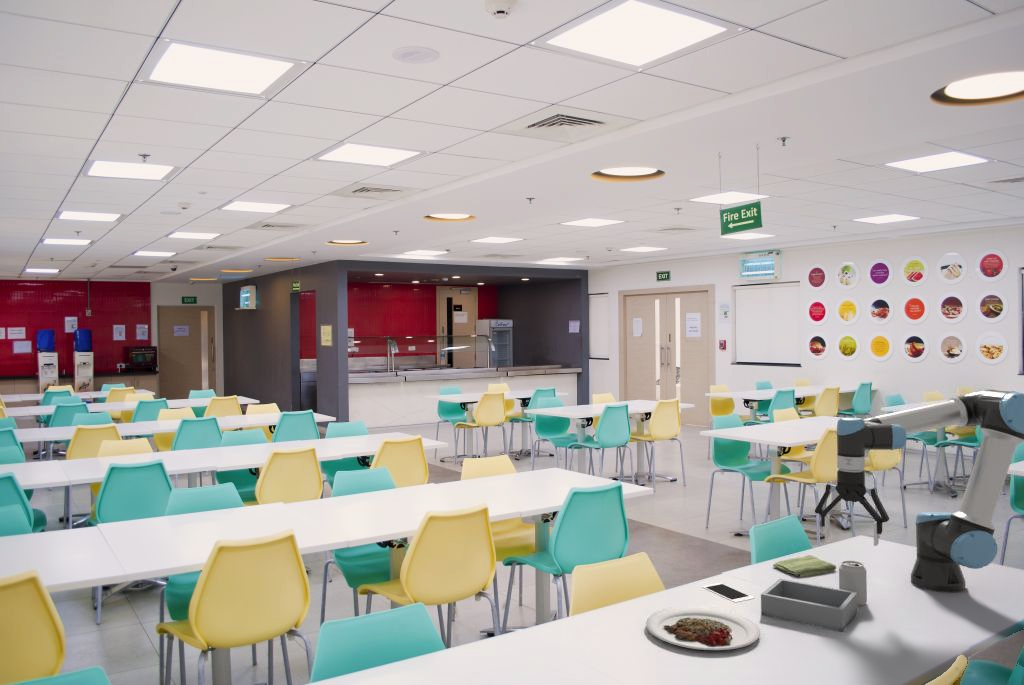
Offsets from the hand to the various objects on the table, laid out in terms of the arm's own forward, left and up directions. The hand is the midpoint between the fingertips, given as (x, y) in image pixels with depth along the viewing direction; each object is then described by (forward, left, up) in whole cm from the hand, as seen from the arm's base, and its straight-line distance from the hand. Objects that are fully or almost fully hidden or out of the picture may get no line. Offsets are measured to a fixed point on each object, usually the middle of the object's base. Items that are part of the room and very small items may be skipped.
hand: (851, 541), depth 223 cm
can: (0, 0, -19) cm, 19 cm away
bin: (+8, +16, -19) cm, 26 cm away
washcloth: (+21, -25, -19) cm, 38 cm away
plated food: (+28, +46, -19) cm, 57 cm away
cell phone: (+34, +12, -19) cm, 41 cm away
